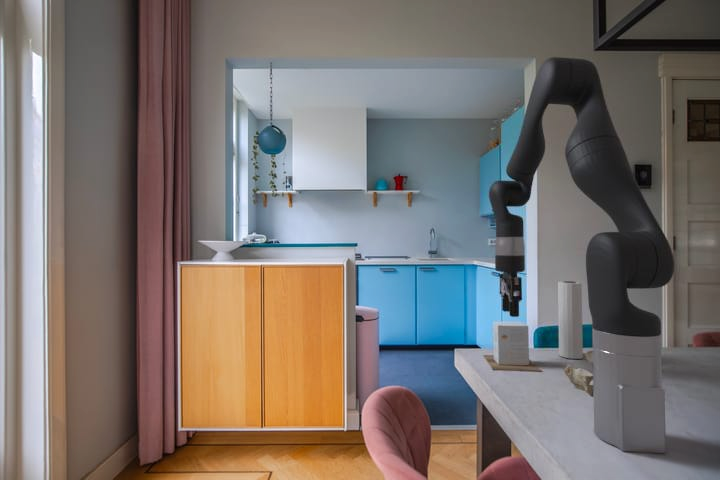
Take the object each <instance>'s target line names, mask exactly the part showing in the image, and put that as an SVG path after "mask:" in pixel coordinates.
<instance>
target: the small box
mask: <svg viewBox="0 0 720 480" xmlns="http://www.w3.org/2000/svg"><path fill="white" fill-rule="evenodd" d="M492 334H493V335H492V337H493V338H492V340H493V341H492V343H493V355H494V360H495V361H496V362H497V363H498V364H499V365H529V359H530V347H529V345H530V343H529V342H530V341H529V340H530V336H529V325H527V324H526V323H524V322H523V321H493V322H492Z"/></svg>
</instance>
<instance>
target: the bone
mask: <svg viewBox="0 0 720 480" xmlns="http://www.w3.org/2000/svg"><path fill="white" fill-rule="evenodd" d="M584 356H585V357H586V360H587V362H589V364H592V366H593V349H588V350H587V351H586V352H585V353H584ZM564 373H565V375H566V377H567V378H568V380H569V381H570V383H571V384H573V388H574V389H577V390H581V391H584V392H586V393H587V394H588V395H589V396H591V395H592V394H593V384H590V383H591V382H592V381H593V372H592V373H591V372H590V371H588V370H586V369H584V368H582V367H578V368H575V367H574V366H573V365H572V364H570V365H567V366H566V367H565V368H564Z"/></svg>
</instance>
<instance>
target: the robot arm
mask: <svg viewBox="0 0 720 480" xmlns="http://www.w3.org/2000/svg"><path fill="white" fill-rule="evenodd" d="M549 105H562V106H564V105H565V106H569V107H571V108H572V109H573V111H574V114H575V117H576V120H577V121H576V124H575V126H574V127H573V129H572V132H571V133H570V135H569V137H568V139H567V142H566V144H565V147H564V148H565V149H564V155H565V159H566V160H565V161H566V163H567V166H568V169H569V172H570V176H571V179H572V180H573V183H574V184H575V185H576V187H577V188H578V189H579V190H580V192H582V193H583V195H585V196H586V197H587V198H588V199H590V201H592V202H593V203H594V204H595V205H597V206H598V207H599V208H601V209H602V210H603V212H605V213H606V214H607V215H608V217H610V219H611V220H612V222H613V223H614V225H615V227H616V229H617V231H604V232H599V233H596V234H594V235H593V236H592V238H591V239H590V240H589V242H588V244H587V248H586V254H585V272H586V273H585V274H586V282H587V299H588V309H589V312H590V315H591V316H590V317H591V322H592V323H591V325H592V350H593V365H592V374H593V380H592V381H593V383H592V385H593V393H592V394H593V396H592V397H593V428H594V429H593V430H594V434H595V436H596V437H598V438H599V439H600V440H602V441H603V442H606V443H607V444H610V445H612V446H615V447H617V448H619V449H620V450H621V451H623V452H636V453H637V452H638V453H639V452H640V453H657V454H667V437H666V436H667V435H666V431H667V430H666V398H665V397H666V394H665V393H666V392H665V389H664V388H663V373H662V369H663V368H662V365H663V364H662V361H663V360H662V322H661V319H660V317H659V316H658V315H657V314H655V313H653V312H651V311H648V310H644V309H641V308H639V307H638V306H636V305H634V304H633V303H632V302H631V301H630V299H629V294H628V289H633V290H634V289H635V290H636V289H640V290H641V289H657V288H658V289H659V288H663V287H664V286H666V285H668V283H670V281H671V280H672V279H673V275H674V272H675V260H674V259H675V258H674V255H673V250H672V248H671V244H670V242H669V241H668V239H667V236H666V234H665V233H664V231H663V229H662V228H661V226H660V224H659V222H658V220H657V219H656V217H655V215H654V214H653V212H652V210H651V208H650V207H649V205H648V203H647V201H646V199H645V197H644V196H643V195H644V194H643V193H642V191H641V188H640V186H639V184H638V181H637V180H636V177H635V175H634V172H633V170H632V169H631V166H630V163H629V159H628V157H627V156H628V155H627V154H626V151H625V149H624V147H623V144H622V140H621V139H620V137H619V135H618V132H617V131H616V129H615V126H614V123H613V121H612V120H613V119H612V117H611V115H610V112H609V109H608V106H607V104H606V99H605V95H604V91H603V85H602V83H601V78H600V75H599V71H598V69H597V67H596V64H594V62H592V61H590V60H588V59H584V58H573V57H561V56H559V57H558V56H553V57H549V58H547V59H546V60H545V61H544V62H543V63H542V64H541V65H540V67H539V69H538V71H537V73H536V76H535V78H534V82H533V84H532V87H531V92H530V94H529V98H528V103H527V106H526V110H525V114H524V117H523V121H522V127H521V129H520V132H519V133H520V134H519V136H518V140H517V142H516V145H515V147H514V150H513V152H512V153H511V155H510V159H509V160H508V163H507V165H506V169H505V172H506V175H507V176H508V177H509V178H510V179H511V180H496V181H494V182H492V184H491V185H490V188H489V190H488V199H489V202H490V206H491V209H492V213H493V216H494V222H495V246H494V254H495V255H494V256H495V257H494V259H495V261H494V262H495V265H494V267H495V268H494V270H495V271H496V272H500V274H499V295H500V297H501V298H502V299H501V310H502V311H503V312H504V313H506V312H507V313H508V312H509V316H510V317H512V318H518V317H519V316H520V302H521V301H523V289H522V288H523V286H522V285H523V284H522V280H523V279H522V277H521V276H518V273H523V272H525V270H526V261H525V260H526V259H525V258H526V255H525V254H526V253H525V252H526V251H525V250H526V246H525V239H524V238H525V237H524V236H525V235H524V231H525V230H524V219H523V217H522V216H520V215H517V214H513V213H511V212H510V210H509V208H508V207H511V208H512V207H513V208H514V207H515V208H516V207H517V208H518V207H523V206H525V205H526V204H527V203H528V202H529V201H530V199H531V195H532V187H533V183H534V177H535V174H536V172H537V171H538V168H539V167H540V165H541V162H542V160H543V158H544V156H545V153H546V139H545V133H544V129H543V116H544V114H545V111H546V109H547V107H548V106H549Z"/></svg>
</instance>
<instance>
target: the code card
mask: <svg viewBox="0 0 720 480" xmlns="http://www.w3.org/2000/svg"><path fill="white" fill-rule="evenodd" d="M482 356H483V358H484V359H485V360H486V362H487V363H488V365H489V366H490V367H491V369H492V370H493V371H513V372H514V371H515V372H538V373H539V372H541V373H542V372H543V370H542V369H541V368H540V367H539V366H538V365H537V364H535V363H534V361H533V360H531V359H530V358H529V365H499V364H498V363H497V362H496V361H495V360H494V354H493V355H492V354H482Z"/></svg>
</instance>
